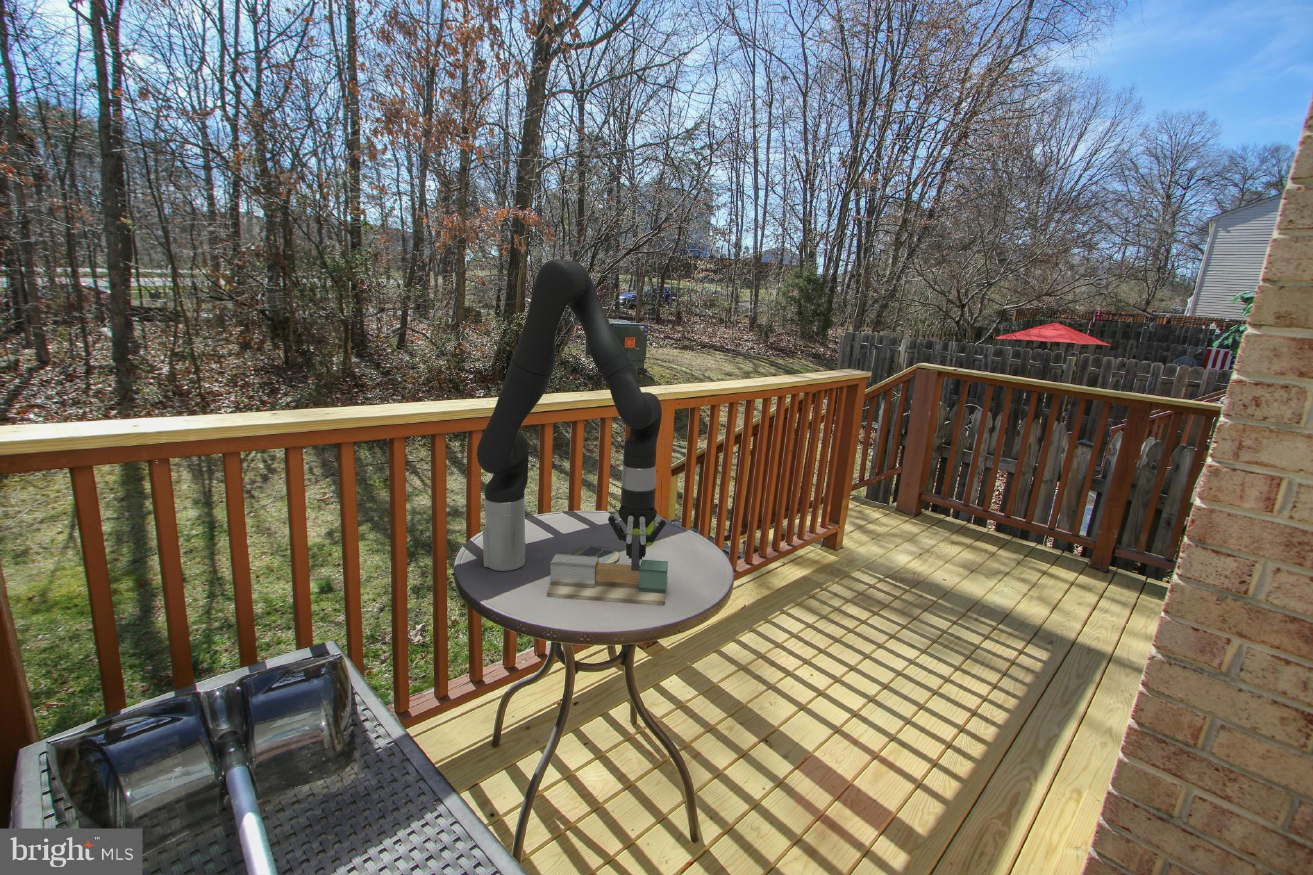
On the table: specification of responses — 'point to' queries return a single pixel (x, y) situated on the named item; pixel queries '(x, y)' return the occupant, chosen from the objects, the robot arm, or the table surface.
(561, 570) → the outer sleeve
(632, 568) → the inner bar
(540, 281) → the robot arm
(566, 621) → the table surface
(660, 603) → the base board
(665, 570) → the socket block
